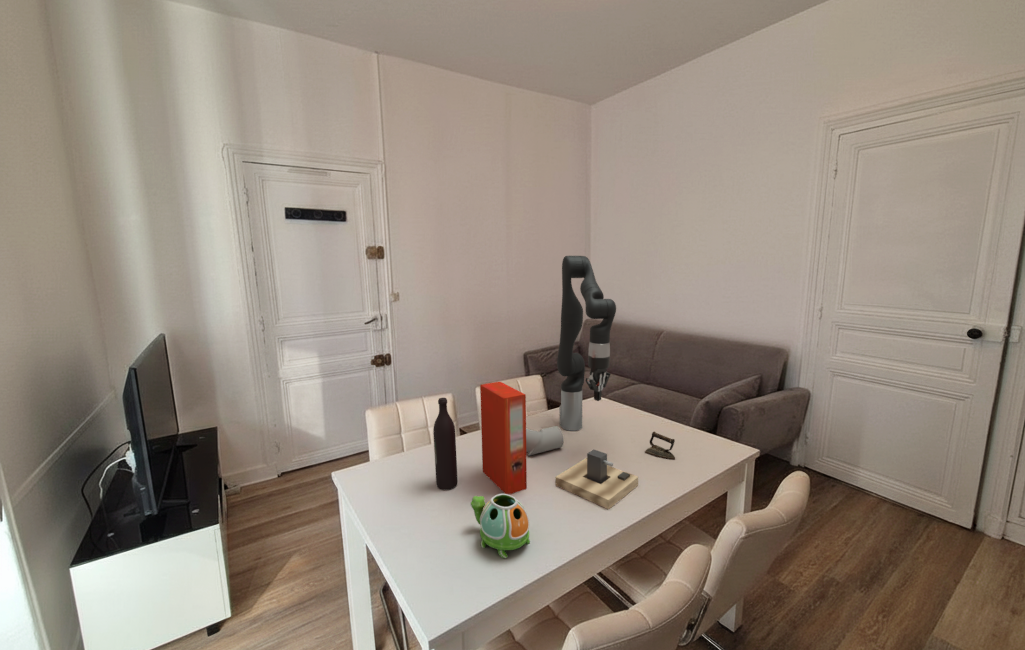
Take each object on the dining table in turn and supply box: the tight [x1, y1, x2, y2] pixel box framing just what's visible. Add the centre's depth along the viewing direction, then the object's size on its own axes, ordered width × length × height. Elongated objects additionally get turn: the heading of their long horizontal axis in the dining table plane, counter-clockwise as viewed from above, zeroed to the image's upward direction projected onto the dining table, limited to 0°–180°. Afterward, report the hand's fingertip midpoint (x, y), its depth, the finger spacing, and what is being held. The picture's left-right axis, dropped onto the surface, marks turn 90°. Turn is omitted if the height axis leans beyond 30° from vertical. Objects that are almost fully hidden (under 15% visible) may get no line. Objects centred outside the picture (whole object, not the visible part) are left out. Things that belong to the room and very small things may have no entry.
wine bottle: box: [432, 397, 458, 491], centre depth 135 cm, size 7×7×30 cm
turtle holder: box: [470, 493, 531, 559], centre depth 109 cm, size 12×18×12 cm
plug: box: [586, 449, 614, 484], centre depth 133 cm, size 8×4×10 cm, turn 47°
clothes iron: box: [644, 431, 676, 461], centre depth 154 cm, size 7×11×10 cm, turn 40°
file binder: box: [479, 381, 528, 495], centre depth 137 cm, size 8×17×32 cm, turn 29°
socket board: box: [554, 457, 639, 510], centre depth 135 cm, size 20×18×4 cm
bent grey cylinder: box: [526, 425, 565, 457], centre depth 163 cm, size 18×11×20 cm
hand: (597, 400), depth 151 cm, fingers closed
